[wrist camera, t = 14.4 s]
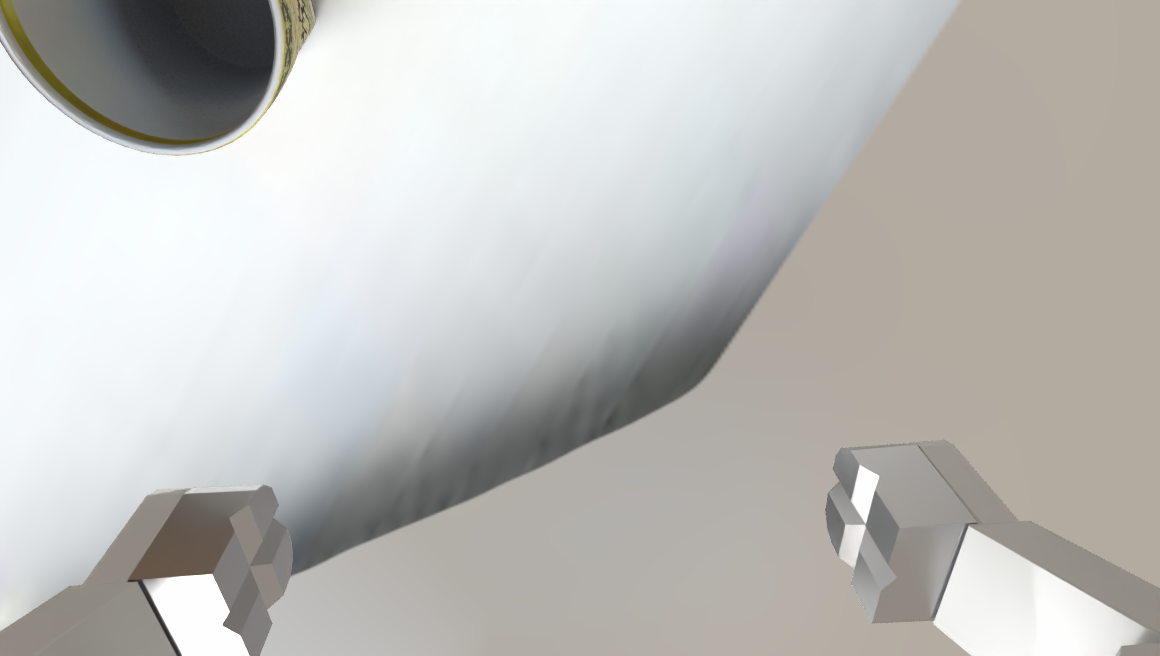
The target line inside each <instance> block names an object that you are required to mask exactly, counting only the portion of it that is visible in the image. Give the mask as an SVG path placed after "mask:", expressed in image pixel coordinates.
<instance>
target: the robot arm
mask: <svg viewBox="0 0 1160 656" xmlns="http://www.w3.org/2000/svg"><path fill="white" fill-rule="evenodd" d="M833 470H834V472H835V474H836V475H837V477H838V479H839V482H838V483H837V484H836V485H835V486H834V487H833V488H832V489H831V490H830V491H829V492H828V497H827V503H826V509H825V511H826V521H827V529H828V533H829V536H830V539H831V542H832V545H833V547H834V549H835V551H836V553H837V555H838V557H839V558H841V559H842V560H844V561H845V562H846V563H848V564H849V565H851V566H852V567H853V568H855V569H854V573H853V577H852V582H851V583H852V585H853V587H854V589H855V591H856V593H857V595H858V597H859V599H860V601H861V603H862V605H863V607H864V609H865V610H866V613H867V615H868V617H869V618H870V620H871V622H872V623H889V622H890V623H892V622H912V621H934V623H933V624H934V625H935V626H937V627H938V628H939V629H941V631H943V632H944V633H945V634H946V635H947V636H949V637H950V638H951V639H952V640H953V641H955V642H956V643H957V644H958V645H959V646H961V647H962V648H963V649H964V650H965V651H966V652H968V653H969V654H970V655H971V656H1160V588H1158V587H1156V586H1154V585H1153V584H1151V583H1149V582H1147V581H1145V580H1143V579H1141V578H1139V577H1137V576H1135V575H1133V574H1131V573H1130V572H1128V571H1126V570H1124V569H1122V568H1120V567H1118V566H1116V565H1114V564H1112V563H1110V562H1109V561H1106V560H1105V559H1103V558H1101V557H1099V556H1097V555H1095V554H1093V553H1091V552H1089V551H1087V550H1086V549H1083V548H1082V547H1080V546H1078V545H1076V544H1074V543H1072V542H1070V541H1068V540H1066V539H1065V538H1062V537H1061V536H1059V535H1057V534H1055V533H1053V532H1051V531H1049V530H1047V529H1045V528H1043V527H1041V526H1039V525H1038V524H1036V523H1034V522H1032V521H1019V520H1018V519H1017V518H1016V517H1015V516H1014V514H1013V513H1012V512H1011V511H1010V510H1009V509H1008V507H1007V506H1006V505H1005V504H1004V503H1003V502H1002V500H1001V499H1000V498H999V497H998V496H997V495H996V493H995V492H994V491H993V490H992V489H991V488H990V486H989V485H988V484H987V483H986V482H985V481H984V480H983V478H982V477H981V476H980V475H979V474H978V473H977V471H976V470H975V469H974V468H973V467H972V466H971V464H970V463H969V462H968V461H967V460H966V459H965V457H964V456H963V455H962V454H961V453H960V451H959V450H958V449H957V448H956V447H955V446H954V445H953V444H951V443H950V442H948V441H946V440H936V441H923V442H911V443H909V444H890V445H878V446H864V447H849V448H841V449H840V451H839V452H838V453H837V455H836V458H835V463H834V467H833ZM278 506H279V504H278V502H277V499H276V497H275V494H274V492H273V489H272V488H271V487H269V486H266V485H244V486H219V487H195V488H192V489H162V490H156V491H154V492H153V493H151V494H149V495H147V496H146V497H145V499H144V500H143V501H142V503H141V504H140V505H139V507H138V508H137V510H136V511H135V512H134V514H133V515H132V516H131V518H130V519H129V521H128V522H127V523H126V525H125V526H124V528H123V529H122V530H121V532H120V533H119V534H118V536H117V537H116V539H115V540H114V541H113V543H112V544H111V546H110V547H109V548H108V550H107V551H106V552H105V554H104V555H103V557H102V558H101V559H100V561H99V562H98V563H97V565H96V566H95V568H94V569H93V570H92V572H91V573H90V575H89V576H88V577H87V579H86V580H85V581H84V583H83V584H82V585H78V586H69V587H68V588H66V589H64V590H63V591H61V592H60V593H58V594H57V595H55V596H54V597H52V598H51V599H49V600H48V601H46V602H45V603H43V604H42V605H40V606H39V607H37V608H35V609H34V610H32V611H31V612H29V613H28V614H26V615H25V616H23V617H22V618H20V619H19V620H17V621H16V622H14V623H13V624H11V625H10V626H8V627H7V628H5V629H3V630H2V631H0V656H260V653H261V651H262V648H263V646H264V643H265V641H266V638H267V636H268V633H269V631H270V628H271V626H272V621H271V619H270V616H269V614H268V611H267V609H268V608H270V607H271V606H272V605H273V604H274V603H275V602H276V601H278V600H279V599H280V598H281V597H282V596H283V595H284V592H285V590H286V587H287V584H288V581H289V579H290V574H291V567H292V559H293V553H292V544H291V539H290V536H289V533H288V530H287V528H286V527H285V526H284V525H282V524H281V523H279V522H278V521H277V520H275V519H274V518H273V517H274V515H275V512H276V510H277V508H278Z"/></svg>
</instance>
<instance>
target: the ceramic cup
mask: <svg viewBox="0 0 1160 656" xmlns="http://www.w3.org/2000/svg"><path fill="white" fill-rule="evenodd" d="M315 23H316V19H315V15H314V11H313V7H312V3H311V0H0V42H1V43H2V45H3V47H4V48H5V50H6V51H7V53H8V55H9V56H10V58H11V59H12V61H13V62H14V63H15V65H16V66H17V67H18V69H19V70H20V71H21V72H22V74H23V75H24V76H25V77H26V78H27V80H28V81H29V82H30V83H31V84H32V85H33V86H34V87H35V88H36V89H37V90H38V91H39V92H40V93H41V94H42V95H43V96H44V97H45V98H46V99H47V100H48V101H49V102H50V103H52V104H53V105H54V106H55V107H57V108H58V109H59V110H60V111H61V112H63V113H64V114H65V115H67V116H68V117H69V118H71V119H72V120H74V121H75V122H76V123H78V124H79V125H81V126H83V127H84V128H86V129H88V130H90V131H91V132H93V133H95V134H97V135H99V136H101V137H103V138H105V139H107V140H109V141H111V142H114V143H117V144H120V145H122V146H125V147H128V148H132V149H135V150H139V151H143V152H148V153H153V154H162V155H177V156H178V155H191V154H198V153H203V152H208V151H211V150H215V149H218V148H220V147H223V146H225V145H227V144H230V143H232V142H233V141H235V140H236V139H238V138H240V137H241V136H243V135H244V134H245V133H247V132H248V131H249V130H250V129H251V128H252V127H254V125H255V124H256V123H257V122H258V121H259V120H260V119H261V118H262V116H263V115H264V114H265V113H266V111H267V110H268V109H269V108H270V106H271V105H272V103H273V102H274V100H275V99H276V97H277V96H278V94H279V92H280V91H281V89H282V87H283V85H284V83H285V82H286V80H287V78H288V76H289V74H290V72H291V70H292V68H293V65H294V63H295V60H296V57H297V54H298V52H299V50H300V48H301V47H302V45H303V44H304V42H305V40H306V39H307V37H308V36H309V34H310V32H311V31H312V29H313V27H314V25H315Z"/></svg>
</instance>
